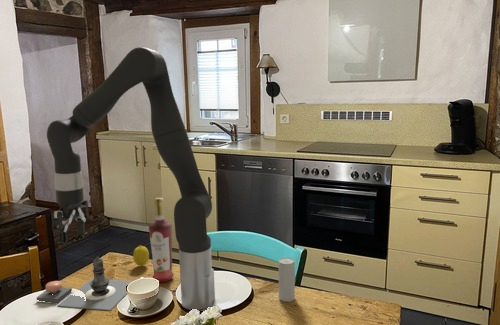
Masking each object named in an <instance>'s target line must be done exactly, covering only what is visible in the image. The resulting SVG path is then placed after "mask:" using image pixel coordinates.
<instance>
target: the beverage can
mask: <svg viewBox="0 0 500 325" xmlns="http://www.w3.org/2000/svg"><path fill="white" fill-rule="evenodd" d="M295 266H296V262H295V259H293V258H291V257H282V258H279V259H278V299H279V300H280V301H282V302H284V303H290V302H293V301H294V299H295V297H296V295H295V293H296V292H295V291H296V288H295V287H296V286H295V285H296V284H295V283H296V282H295V281H296V278H295V277H296V267H295Z"/></svg>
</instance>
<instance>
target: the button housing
mask: <svg viewBox="0 0 500 325" xmlns="http://www.w3.org/2000/svg"><path fill="white" fill-rule="evenodd" d="M71 291H72V292H73V288H72V287H66V286H65V287H63V286H62V288H61V289H60V290H58V293H56V294H57V295H55V294H54V295H52V294H51V292H47V291H46V290H45V291H43V292H42V293H41V294H39V295H38V296H36V301H37V300H39V301H45V302H51V303H50V304H56V303H57V304H58V305H59V304H60V303H61V302H63V301H64V300H65V299H66V298H67V297H68V296H69V295H70V294H69V293H70V292H71ZM68 294H69V295H68ZM67 295H68V296H67ZM66 296H67V297H66ZM65 297H66V298H65ZM60 301H61V302H60Z"/></svg>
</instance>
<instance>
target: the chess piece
mask: <svg viewBox="0 0 500 325" xmlns="http://www.w3.org/2000/svg"><path fill="white" fill-rule="evenodd" d="M92 267H93V270H92V273H93V278H94V280H92V281H91V282H90V285H91V288H92V289H93V290H94V291H93V292H92V293H91V294H92V296H95V297H99V296H104V295H106V294H108V293H109V289H107V287H108V284H109V281H110V280H111V279H110V278H109V277H105V271H106V270H105V268H104V260H103V259H102V258H99V255H97V256H96V258H95V259H94V260H93V262H92ZM109 279H110V280H109Z"/></svg>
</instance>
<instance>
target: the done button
mask: <svg viewBox="0 0 500 325" xmlns="http://www.w3.org/2000/svg"><path fill="white" fill-rule="evenodd" d="M62 287H63V285H62V281H61V280H54V281H53V280H52V281H49V282H47V283H46V284H45V291H47V292H51V294H54V295H55V294H56V293H58V290H60V289H61V288H62Z"/></svg>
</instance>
